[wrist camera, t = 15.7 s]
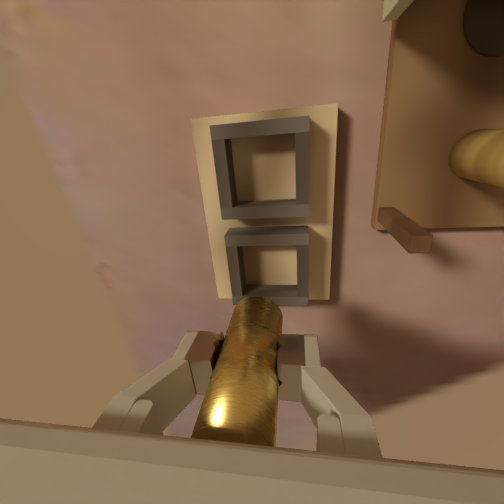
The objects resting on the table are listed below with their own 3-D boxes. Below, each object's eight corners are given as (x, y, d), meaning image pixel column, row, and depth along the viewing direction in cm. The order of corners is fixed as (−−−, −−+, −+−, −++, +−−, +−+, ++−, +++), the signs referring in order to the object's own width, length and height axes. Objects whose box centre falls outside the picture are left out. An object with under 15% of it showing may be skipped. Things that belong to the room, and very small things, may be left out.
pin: (281, 296, 12) (272, 431, 6) (283, 337, 13) (276, 485, 7) (230, 296, 12) (181, 423, 7) (236, 335, 13) (196, 475, 8)
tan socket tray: (335, 105, 14) (343, 99, 12) (327, 292, 19) (332, 313, 17) (196, 119, 16) (179, 117, 13) (222, 290, 20) (213, 310, 18)
